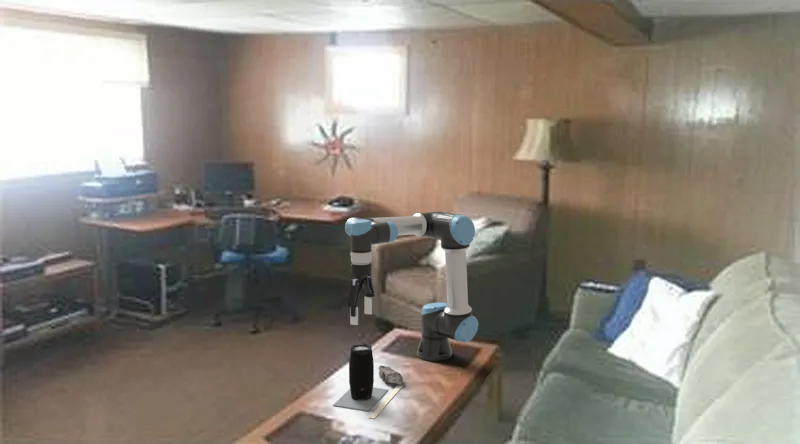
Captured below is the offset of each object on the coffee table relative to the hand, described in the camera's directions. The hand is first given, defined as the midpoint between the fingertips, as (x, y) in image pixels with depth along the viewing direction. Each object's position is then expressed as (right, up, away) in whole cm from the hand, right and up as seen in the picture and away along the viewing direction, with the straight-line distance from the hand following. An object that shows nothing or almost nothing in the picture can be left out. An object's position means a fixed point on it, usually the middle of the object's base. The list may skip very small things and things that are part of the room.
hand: (361, 319), depth 257 cm
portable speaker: (0, -30, +5) cm, 30 cm away
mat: (0, -30, +5) cm, 31 cm away
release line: (+9, -31, +2) cm, 32 cm away
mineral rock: (+11, -28, +21) cm, 36 cm away
